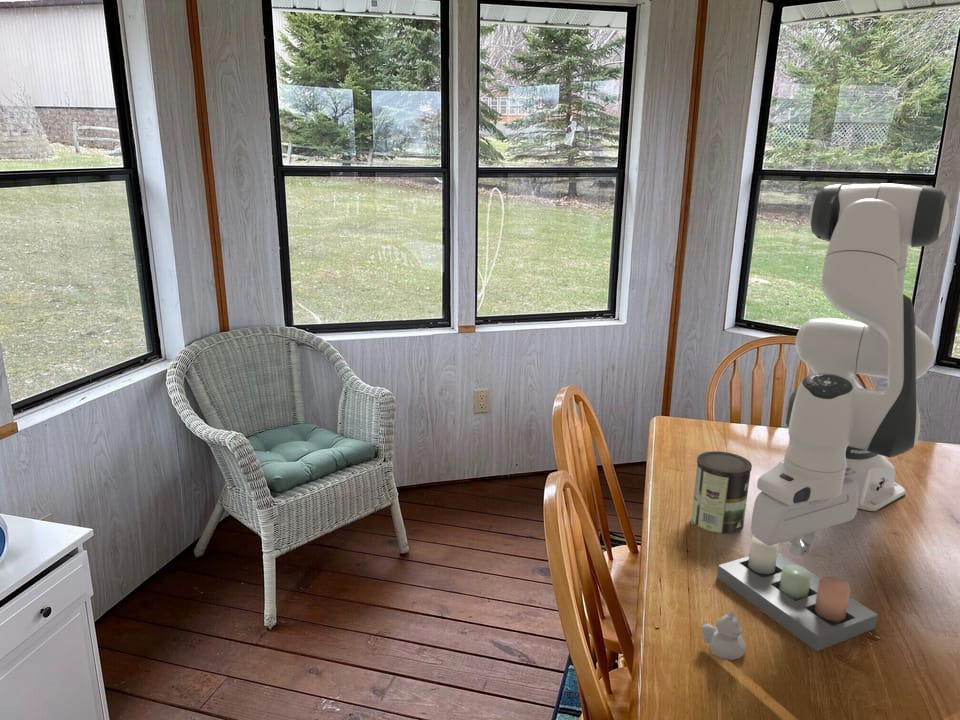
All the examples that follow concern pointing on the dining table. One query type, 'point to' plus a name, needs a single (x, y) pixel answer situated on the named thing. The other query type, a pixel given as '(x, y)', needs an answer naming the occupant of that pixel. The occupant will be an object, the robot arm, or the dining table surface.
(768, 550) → the ivory button
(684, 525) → the dining table surface
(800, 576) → the sage button
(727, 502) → the coffee can
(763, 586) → the grey rectangular tray
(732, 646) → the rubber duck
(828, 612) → the terracotta button
